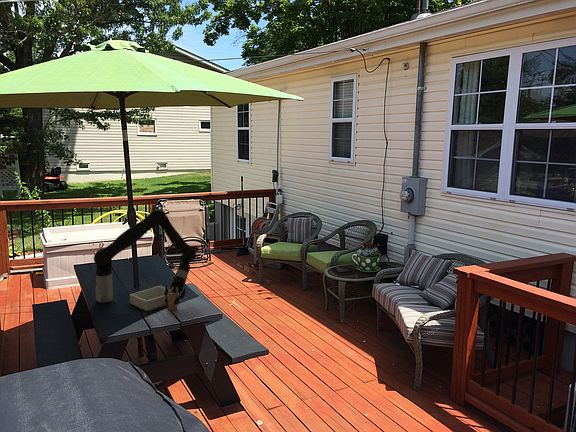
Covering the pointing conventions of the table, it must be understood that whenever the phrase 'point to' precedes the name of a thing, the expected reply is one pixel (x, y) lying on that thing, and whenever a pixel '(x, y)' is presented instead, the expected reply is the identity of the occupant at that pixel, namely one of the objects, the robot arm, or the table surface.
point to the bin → (149, 298)
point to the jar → (171, 301)
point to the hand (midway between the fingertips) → (170, 303)
